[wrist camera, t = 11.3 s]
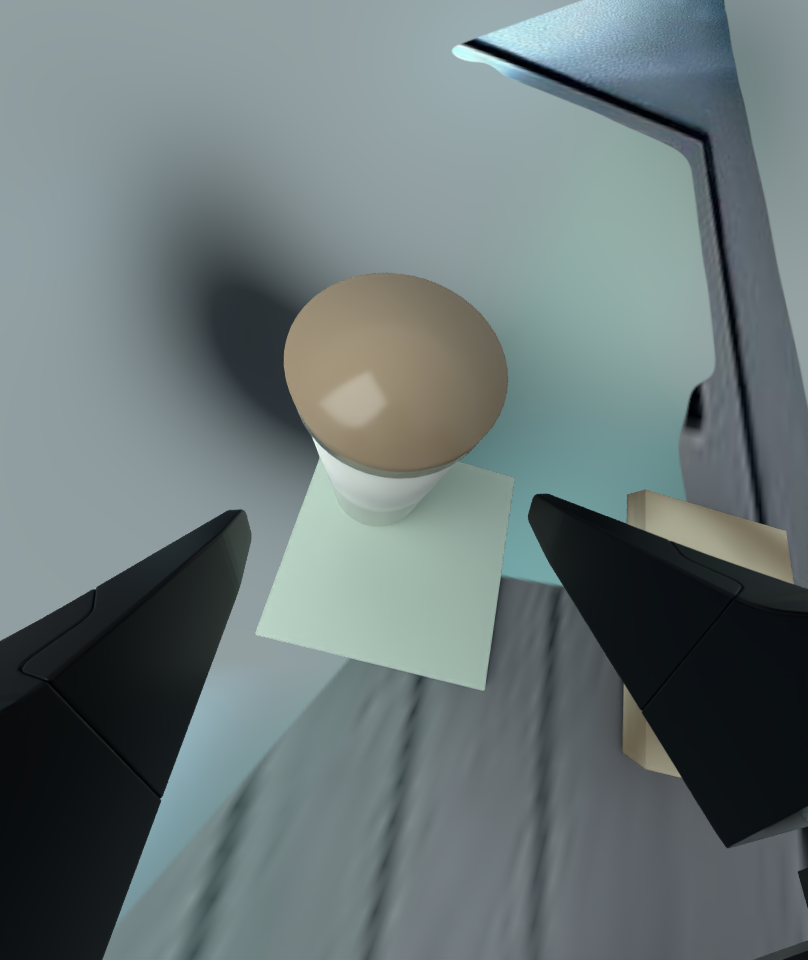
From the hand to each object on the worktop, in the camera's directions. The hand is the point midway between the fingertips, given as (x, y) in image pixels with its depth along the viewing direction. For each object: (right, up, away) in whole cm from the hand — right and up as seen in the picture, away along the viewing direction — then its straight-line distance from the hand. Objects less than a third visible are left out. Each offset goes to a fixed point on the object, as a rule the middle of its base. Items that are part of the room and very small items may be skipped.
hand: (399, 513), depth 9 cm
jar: (-1, +1, +10) cm, 10 cm away
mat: (0, -3, +9) cm, 10 cm away
